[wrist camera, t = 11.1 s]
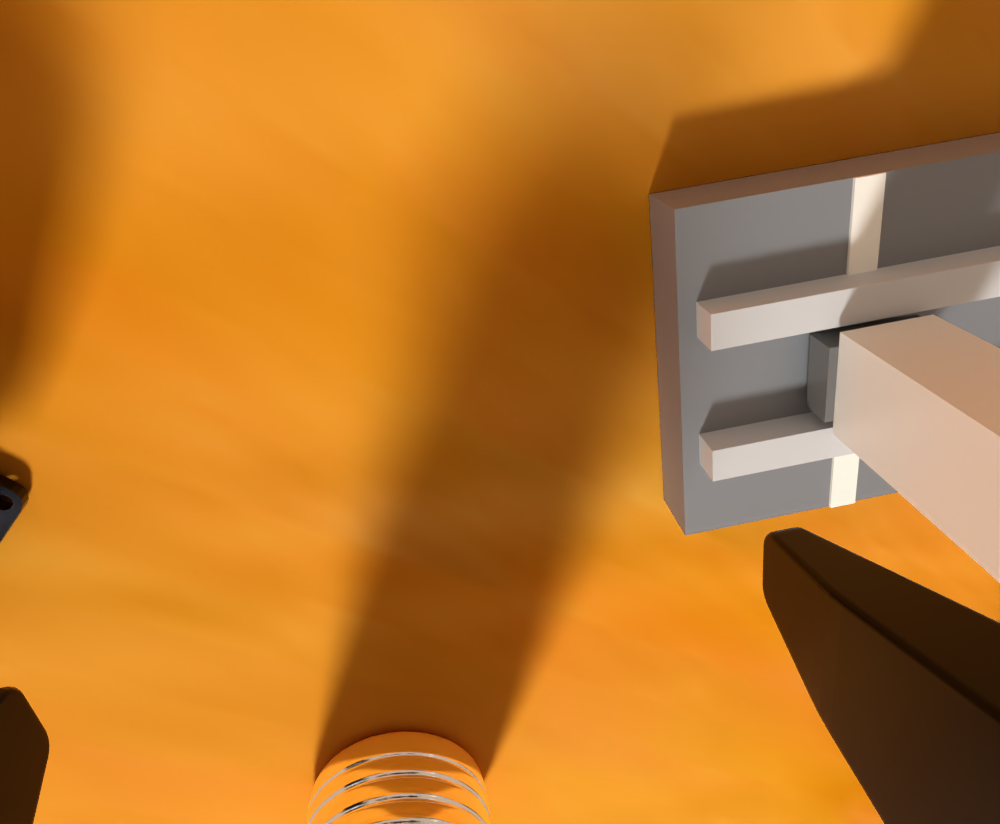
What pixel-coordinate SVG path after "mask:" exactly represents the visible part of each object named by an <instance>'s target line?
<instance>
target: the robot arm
mask: <svg viewBox="0 0 1000 824" xmlns="http://www.w3.org/2000/svg"><path fill="white" fill-rule="evenodd" d="M0 495H4V496H7V497H9V498H10V499H11V500H12V503H9V502H6V501H4V500H3V499H1V497H0V543H1V541H2V540H3V538H4V537H5V535H6V534H7V532H8V531H9V529H10V528H11V526H12V525H13V523H14V522H15V520H16V519H17V517H18V516H19V514H20V513H21V511H22V510H23V508H24V507H25V505H26V504H27V501H28V499H29V498H28V493H27V491H26V490H25V488H24V487H23V486H21V485H20V484H18V483H17V482H15V481H13V480H11V479H9V478H7V477H4V476H2V475H0ZM763 592H764V596H765V599H766V603H767V605H768V607H769V609H770V611H771V614H772V616H773V618H774V620H775V622H776V624H777V626H778V629H779V631H780V633H781V635H782V637H783V639H784V642H785V644H786V646H787V648H788V650H789V652H790V654H791V657H792V659H793V661H794V663H795V665H796V667H797V669H798V672H799V674H800V676H801V678H802V680H803V682H804V684H805V687H806V689H807V691H808V693H809V695H810V697H811V699H812V701H813V703H814V705H815V707H816V709H817V711H818V713H819V715H820V717H821V719H822V721H823V722H824V724H825V726H826V728H827V729H828V731H829V733H830V734H831V736H832V738H833V739H834V741H835V743H836V744H837V746H838V748H839V749H840V751H841V753H842V754H843V756H844V758H845V759H846V761H847V763H848V764H849V766H850V767H851V769H852V771H853V772H854V774H855V776H856V777H857V779H858V781H859V782H860V784H861V786H862V787H863V789H864V791H865V792H866V794H867V796H868V797H869V799H870V801H871V802H872V804H873V805H874V807H875V809H876V810H877V812H878V814H879V815H880V817H881V819H882V820H883V822H884V824H1000V623H999V622H997V621H995V620H993V619H990V618H988V617H986V616H984V615H982V614H980V613H978V612H976V611H974V610H972V609H970V608H968V607H965V606H963V605H961V604H959V603H957V602H955V601H953V600H951V599H949V598H947V597H945V596H943V595H940V594H938V593H936V592H934V591H932V590H930V589H928V588H926V587H924V586H922V585H920V584H918V583H915V582H913V581H911V580H909V579H907V578H905V577H903V576H901V575H899V574H897V573H895V572H893V571H890V570H888V569H886V568H884V567H882V566H880V565H878V564H876V563H874V562H872V561H870V560H868V559H865V558H863V557H861V556H859V555H857V554H855V553H853V552H851V551H849V550H847V549H845V548H843V547H840V546H838V545H836V544H834V543H832V542H830V541H828V540H826V539H824V538H822V537H820V536H818V535H815V534H813V533H811V532H809V531H807V530H805V529H802V528H798V527H796V528H789V529H784V530H779V531H774V532H771V533H769V534H768V535H767V536H766V537H765V540H764V552H763ZM48 755H49V739H48V736H47V733H46V730H45V729H44V727H43V725H42V724H41V722H40V721H39V719H38V717H37V716H36V714H35V712H34V711H33V709H32V708H31V706H30V704H29V703H28V701H27V699H26V698H25V696H24V695H23V693H22V692H21V691H20V690H18V689H17V688H15V687H3V688H0V824H33V821H34V817H35V813H36V808H37V804H38V799H39V795H40V790H41V786H42V782H43V777H44V773H45V768H46V764H47V760H48Z"/></svg>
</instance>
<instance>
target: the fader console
mask: <svg viewBox="0 0 1000 824" xmlns="http://www.w3.org/2000/svg"><path fill="white" fill-rule="evenodd" d="M649 204H650V224H651V245H652V265H653V285H654V306H655V326H656V347H657V367H658V388H659V408H660V429H661V449H662V469H663V490H664V500H665V502H666V504H667V505H668V507H669V509H670V510H671V512H672V514H673V515H674V517H675V519H676V521H677V522H678V524H679V526H680V527H681V529H682V531H683V532H684V534H685V535H689V534H694V533H699V532H704V531H709V530H714V529H719V528H724V527H729V526H734V525H739V524H744V523H748V522H753V521H758V520H763V519H768V518H773V517H778V516H783V515H788V514H793V513H798V512H803V511H808V510H813V509H817V508H822V507H827V506H829V507H830V508H833V507H838V506H843V505H848V504H853V503H855V501H857V500H862V499H867V498H872V497H877V496H882V495H886V494H891V493H896V492H897V491H896V490H895V489H894V488H893V487H892V486H890V485H889V484H888V483H887V482H886V481H885V480H884V479H883V478H882V477H880V476H879V475H878V474H877V473H876V472H875V471H874V470H873V469H871V468H870V467H869V466H868V465H867V464H866V463H865V462H864V461H862V460H861V459H860V458H859V457H858V456H857V455H856V454H855V453H854V452H852V451H851V450H850V449H849V448H848V447H847V446H846V445H845V444H843V443H842V442H841V441H840V440H839V439H838V438H837V437H836V436H834V435H833V421H831V422H826V423H824V422H823V421H822V420H821V419H820V418H819V417H818V416H816V415H815V414H814V413H813V412H812V411H811V410H810V409H809V408H807V407H806V402H807V384H808V365H809V347H810V334H815V333H821V332H826V331H831V330H837V329H842V328H847V327H852V326H858V325H863V324H868V323H873V322H879V321H884V320H889V319H895V318H900V317H905V316H910V315H916V314H917V315H918V316H920V317H922V316H928V315H935V316H937V317H939V318H941V319H943V320H945V321H947V322H949V323H951V324H953V325H955V326H957V327H959V328H961V329H963V330H965V331H967V332H969V333H971V334H973V335H975V336H977V337H978V338H980V339H982V340H984V341H986V342H988V343H990V344H992V345H994V346H996V347H998V348H1000V132H999V133H993V134H987V135H982V136H976V137H970V138H965V139H959V140H953V141H948V142H942V143H936V144H931V145H925V146H919V147H914V148H908V149H902V150H897V151H891V152H885V153H880V154H874V155H868V156H863V157H857V158H851V159H846V160H840V161H834V162H829V163H823V164H817V165H812V166H806V167H800V168H795V169H789V170H783V171H778V172H772V173H766V174H761V175H755V176H749V177H744V178H738V179H732V180H727V181H721V182H715V183H710V184H704V185H698V186H693V187H687V188H681V189H676V190H670V191H664V192H659V193H653V194H649Z"/></svg>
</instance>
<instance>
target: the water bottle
mask: <svg viewBox="0 0 1000 824" xmlns="http://www.w3.org/2000/svg"><path fill="white" fill-rule="evenodd" d="M305 824H492V823H491V811H490V806H489V802H488V797H487V791H486V787H485V783H484V780H483V777H482V774H481V772H480V770H479V767H478V766H477V764H476V762H475V761H474V760H473V758H472V757H471V756H470V755H469V754H468V753H467V752H466V751H465V750H464V749H463V748H461V747H460V746H458V745H457V744H455V743H453V742H451V741H449V740H447V739H445V738H442V737H439V736H436V735H432V734H428V733H422V732H392V733H385V734H380V735H376V736H372V737H369V738H366V739H364V740H361V741H359V742H357V743H354V744H353V745H351V746H349V747H347V748H346V749H344V750H342V751H341V752H340V753H338V754H337V755H336V756H335V757H333V758H332V759H331V760H330V761H329V762H328V763H327V765H326V766H325V767H324V768H323V769H322V771H321V772H320V774H319V776H318V777H317V779H316V781H315V784H314V786H313V789H312V792H311V796H310V799H309V804H308V809H307V817H306V821H305Z"/></svg>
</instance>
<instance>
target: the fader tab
mask: <svg viewBox="0 0 1000 824" xmlns="http://www.w3.org/2000/svg"><path fill="white" fill-rule="evenodd" d="M806 407H807V408H809V409H810V410H811V411H812V412H813V413H814V414H815V415H816V416H818V417H819V418H820V419H821V420H822V421H823V422H824V423H826V422H831V421H833V435H834V436H836V437H837V438H838V439H839V440H840V441H841V442H842V443H843V444H845V445H846V446H847V447H848V448H849V449H850V450H851V451H852V452H854V453H855V454H856V455H857V456H858V457H859V458H860V459H861V460H862V461H864V462H865V463H866V464H867V465H868V466H869V467H870V468H871V469H873V470H874V471H875V472H876V473H877V474H878V475H879V476H880V477H882V478H883V479H884V480H885V481H886V482H887V483H888V484H889V485H890V486H892V487H893V488H894V489H895V490H896V491H897V492H898V493H899V494H901V495H902V496H903V497H904V498H905V499H906V500H907V501H908V502H910V503H911V504H912V505H913V506H914V507H915V508H916V509H917V510H918V511H920V512H921V513H922V514H923V515H924V516H925V517H926V518H927V519H929V520H930V521H931V522H932V523H933V524H934V525H935V526H936V527H938V528H939V529H940V530H941V531H942V532H943V533H944V534H945V535H946V536H948V537H949V538H950V539H951V540H952V541H953V542H954V543H955V544H957V545H958V546H959V547H960V548H961V549H962V550H963V551H964V552H965V553H967V554H968V555H969V556H970V557H971V558H972V559H973V560H974V561H976V562H977V563H978V564H979V565H980V566H981V567H982V568H983V569H985V570H986V571H987V572H988V573H989V574H990V575H991V576H992V577H993V578H995V579H996V580H997V581H998V582H999V583H1000V348H998V347H996V346H994V345H992V344H990V343H988V342H986V341H984V340H982V339H980V338H978V337H977V336H975V335H973V334H971V333H969V332H967V331H965V330H963V329H961V328H959V327H957V326H955V325H953V324H951V323H949V322H947V321H945V320H943V319H941V318H939V317H937V316H935V315H928V316H922V317H920V316H918V315H917V314H916V315H910V316H905V317H900V318H895V319H889V320H884V321H879V322H873V323H868V324H863V325H858V326H852V327H847V328H842V329H837V330H831V331H826V332H821V333H815V334H810V347H809V365H808V384H807V402H806Z"/></svg>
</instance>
